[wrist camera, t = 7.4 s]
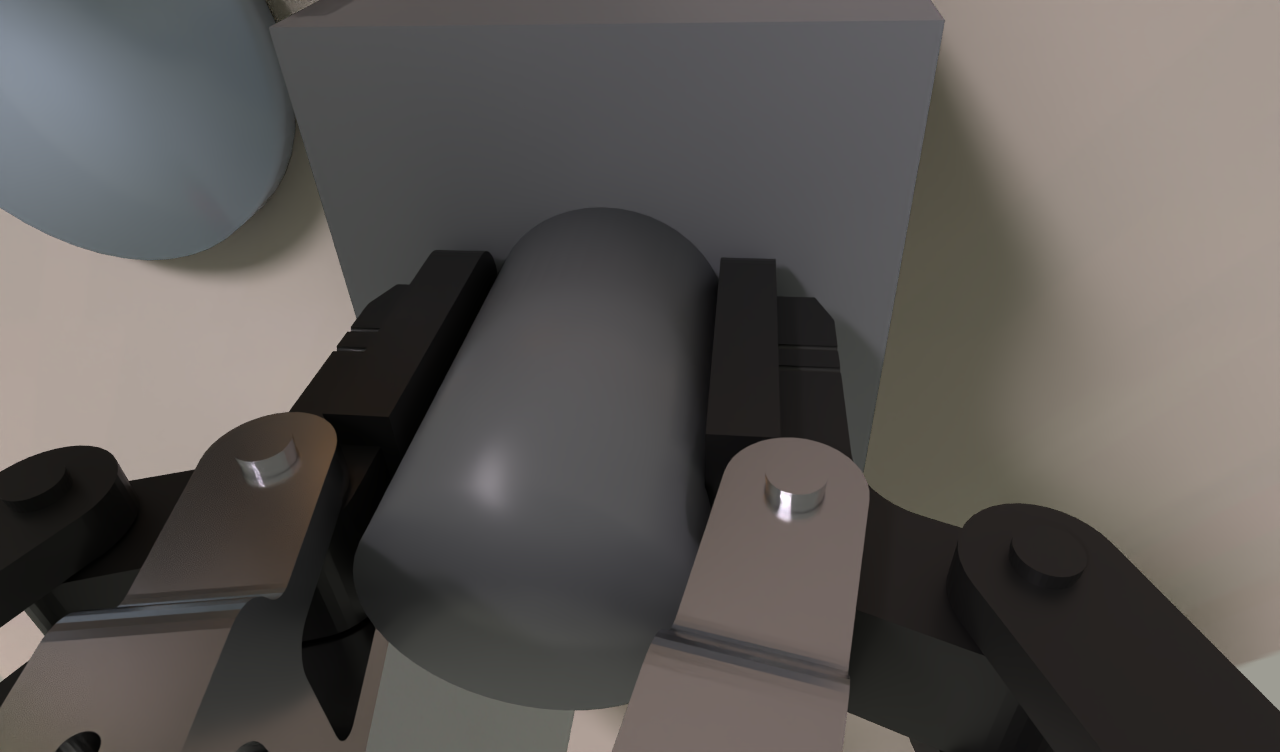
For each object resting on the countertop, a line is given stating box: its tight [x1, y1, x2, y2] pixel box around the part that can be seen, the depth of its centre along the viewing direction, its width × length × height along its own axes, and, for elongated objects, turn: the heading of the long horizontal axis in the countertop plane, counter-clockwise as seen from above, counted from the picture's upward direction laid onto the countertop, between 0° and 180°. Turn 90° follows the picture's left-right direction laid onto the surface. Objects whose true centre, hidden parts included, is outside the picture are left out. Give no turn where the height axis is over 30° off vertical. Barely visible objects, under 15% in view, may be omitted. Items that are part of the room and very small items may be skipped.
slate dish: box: [0, 0, 295, 260], centre depth 19 cm, size 10×10×1 cm
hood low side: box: [269, 0, 945, 710], centre depth 12 cm, size 8×8×12 cm
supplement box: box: [366, 643, 575, 752], centre depth 22 cm, size 7×7×13 cm
